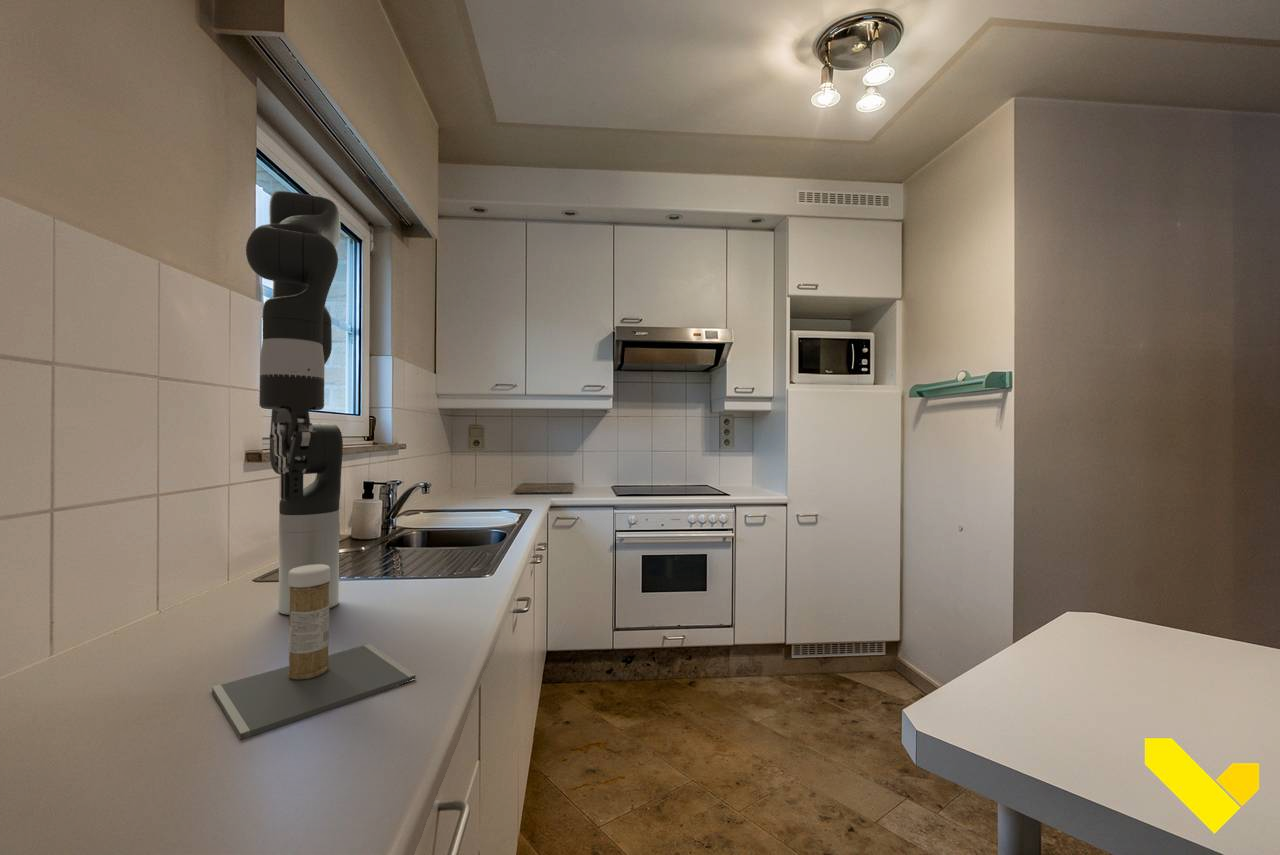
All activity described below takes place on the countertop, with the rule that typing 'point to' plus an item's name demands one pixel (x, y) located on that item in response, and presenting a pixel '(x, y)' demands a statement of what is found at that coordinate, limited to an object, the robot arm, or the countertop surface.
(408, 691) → the countertop surface
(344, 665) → the mat
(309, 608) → the sprinkles bottle
